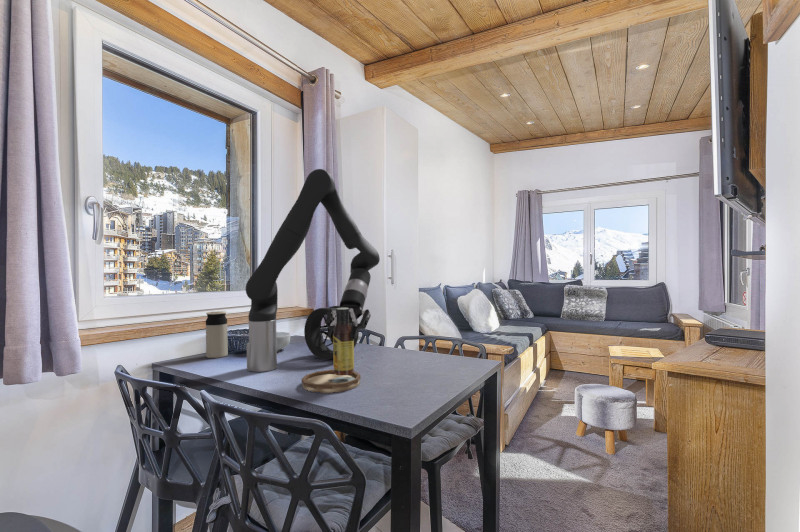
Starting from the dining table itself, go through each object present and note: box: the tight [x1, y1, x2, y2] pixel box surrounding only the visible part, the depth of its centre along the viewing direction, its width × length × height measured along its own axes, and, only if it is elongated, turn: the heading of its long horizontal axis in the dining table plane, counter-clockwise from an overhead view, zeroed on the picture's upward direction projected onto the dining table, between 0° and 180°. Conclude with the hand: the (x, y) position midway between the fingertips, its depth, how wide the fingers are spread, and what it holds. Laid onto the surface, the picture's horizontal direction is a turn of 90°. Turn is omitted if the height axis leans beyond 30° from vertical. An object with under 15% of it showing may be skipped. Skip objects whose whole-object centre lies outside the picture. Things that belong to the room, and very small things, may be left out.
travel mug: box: [205, 310, 229, 359], centre depth 164 cm, size 8×8×18 cm
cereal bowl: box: [276, 331, 291, 352], centre depth 173 cm, size 17×17×7 cm
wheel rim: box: [303, 305, 360, 361], centre depth 158 cm, size 20×9×20 cm, turn 60°
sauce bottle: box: [332, 308, 355, 375], centre depth 121 cm, size 7×6×20 cm
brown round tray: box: [301, 369, 362, 394], centre depth 121 cm, size 17×17×2 cm
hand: (341, 338), depth 120 cm, fingers closed on sauce bottle, 6 cm apart
